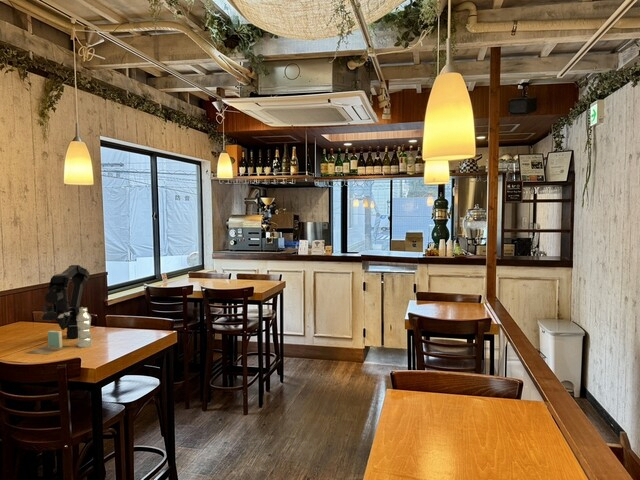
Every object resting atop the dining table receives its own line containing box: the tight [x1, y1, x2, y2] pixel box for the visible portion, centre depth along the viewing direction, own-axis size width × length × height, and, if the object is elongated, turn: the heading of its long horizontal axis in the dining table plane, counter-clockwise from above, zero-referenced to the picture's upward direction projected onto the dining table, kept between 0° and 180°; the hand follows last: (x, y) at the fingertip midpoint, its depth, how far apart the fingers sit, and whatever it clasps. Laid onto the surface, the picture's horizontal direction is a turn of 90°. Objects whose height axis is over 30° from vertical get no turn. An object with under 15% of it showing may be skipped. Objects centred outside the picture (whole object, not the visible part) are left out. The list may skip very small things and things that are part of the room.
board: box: [25, 344, 72, 356], centre depth 210 cm, size 14×14×1 cm
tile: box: [47, 330, 63, 348], centre depth 214 cm, size 2×7×8 cm, turn 76°
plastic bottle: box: [76, 306, 93, 349], centre depth 214 cm, size 6×7×20 cm
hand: (63, 329), depth 219 cm, fingers closed
